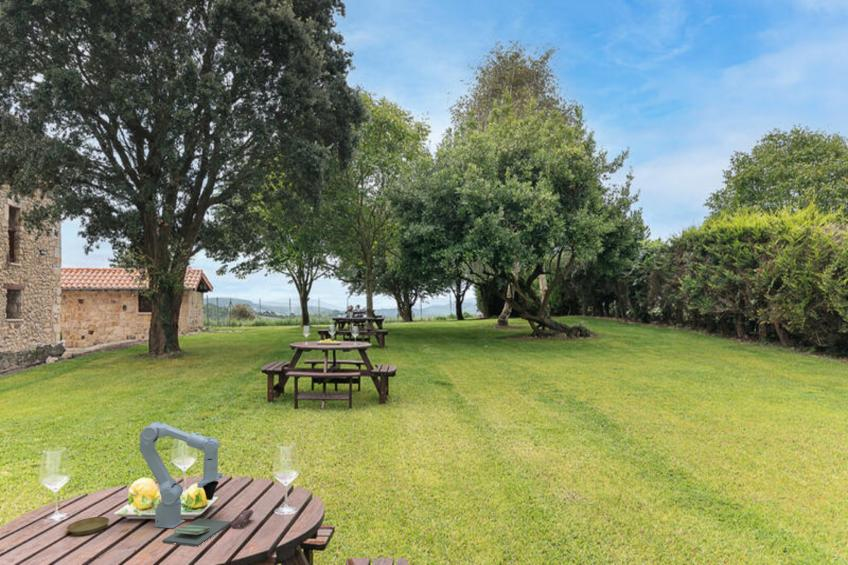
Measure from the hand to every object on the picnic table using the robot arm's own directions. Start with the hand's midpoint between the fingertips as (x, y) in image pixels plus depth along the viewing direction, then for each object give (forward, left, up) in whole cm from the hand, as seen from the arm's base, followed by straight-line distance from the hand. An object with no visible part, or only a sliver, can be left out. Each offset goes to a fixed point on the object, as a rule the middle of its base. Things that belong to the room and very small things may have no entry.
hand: (209, 499), depth 217 cm
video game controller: (+16, +1, -10) cm, 19 cm away
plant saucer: (-44, -18, -10) cm, 49 cm away
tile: (+3, -14, -6) cm, 16 cm away
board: (+3, -11, -9) cm, 15 cm away
